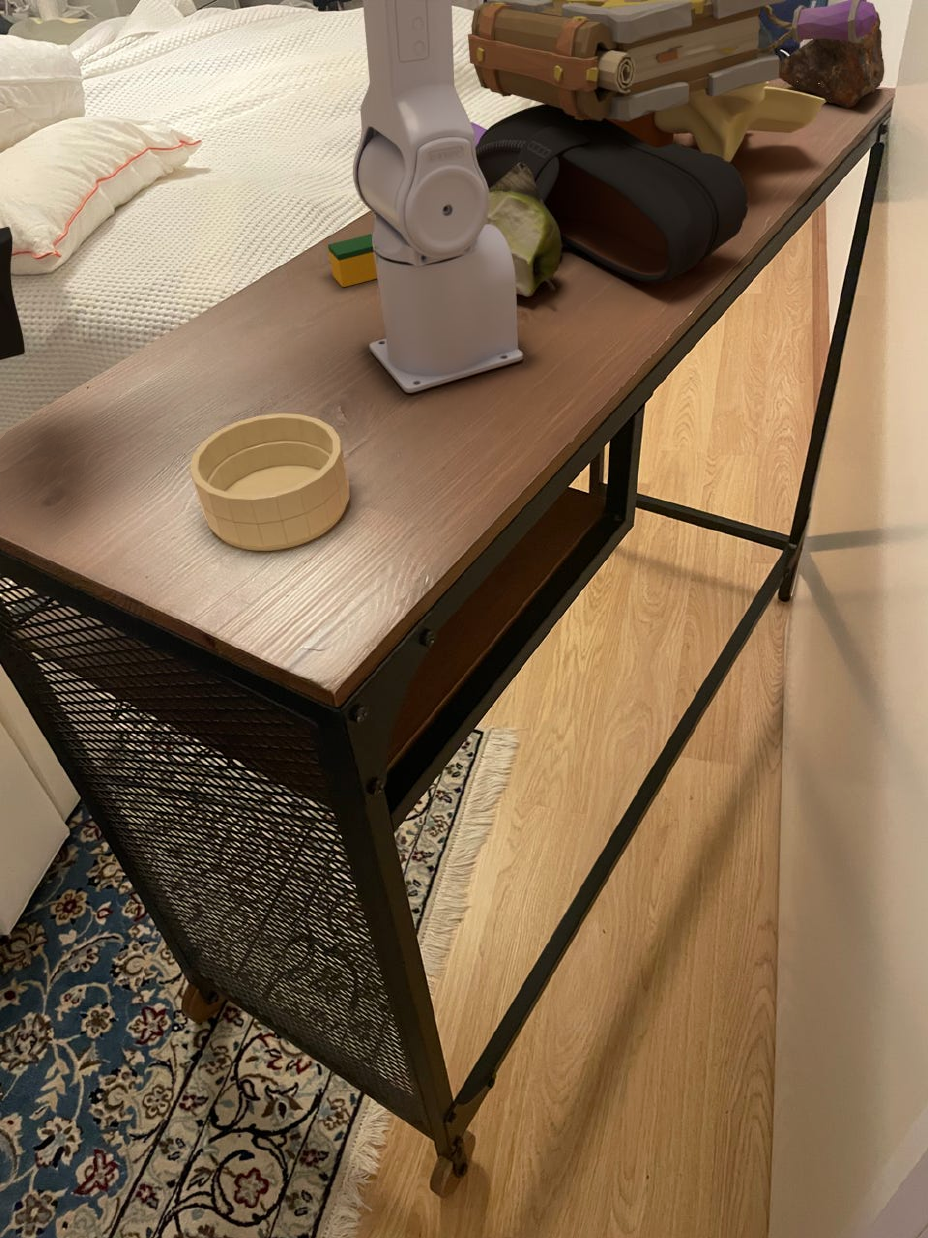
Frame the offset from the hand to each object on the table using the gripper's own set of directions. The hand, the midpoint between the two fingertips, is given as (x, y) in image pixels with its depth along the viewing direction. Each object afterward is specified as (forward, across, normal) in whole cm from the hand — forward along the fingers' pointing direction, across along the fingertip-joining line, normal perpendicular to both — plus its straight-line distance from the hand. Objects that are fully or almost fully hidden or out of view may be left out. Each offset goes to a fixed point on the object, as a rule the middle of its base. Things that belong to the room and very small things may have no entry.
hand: (1, 329), depth 57 cm
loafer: (+5, -14, +52) cm, 54 cm away
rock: (+9, -31, +87) cm, 93 cm away
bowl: (+10, +12, +12) cm, 20 cm away
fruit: (+5, -10, +41) cm, 42 cm away
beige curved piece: (+4, -24, +69) cm, 73 cm away
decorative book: (+1, -6, +57) cm, 57 cm away
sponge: (+10, -17, +28) cm, 34 cm away
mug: (+10, -32, +63) cm, 72 cm away
